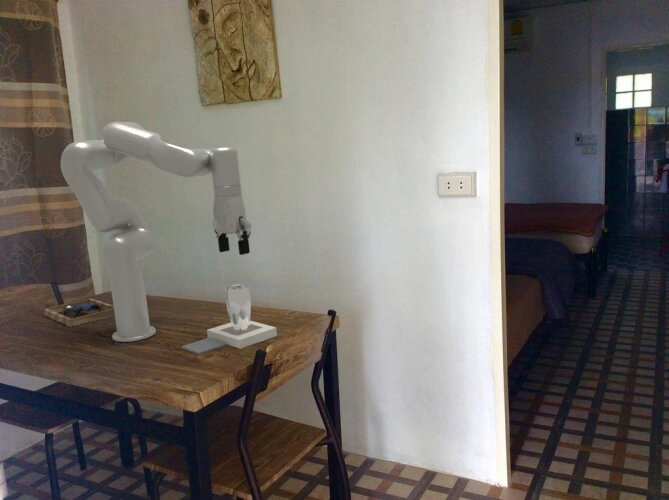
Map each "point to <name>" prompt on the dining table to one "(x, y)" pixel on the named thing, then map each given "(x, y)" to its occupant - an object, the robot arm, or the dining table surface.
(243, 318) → the beer glass
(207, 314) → the dining table surface
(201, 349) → the coaster
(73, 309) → the person figurine
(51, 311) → the frame
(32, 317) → the dining table surface
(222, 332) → the holder board
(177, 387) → the dining table surface
